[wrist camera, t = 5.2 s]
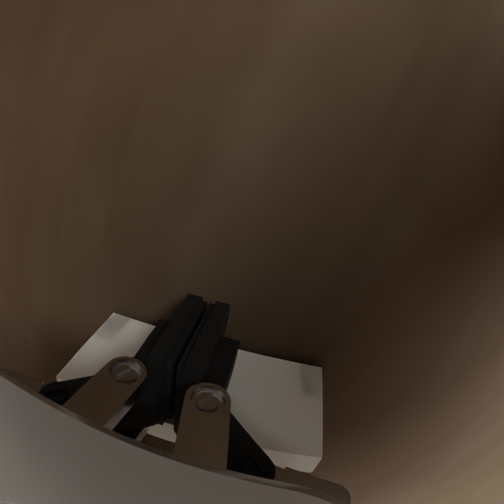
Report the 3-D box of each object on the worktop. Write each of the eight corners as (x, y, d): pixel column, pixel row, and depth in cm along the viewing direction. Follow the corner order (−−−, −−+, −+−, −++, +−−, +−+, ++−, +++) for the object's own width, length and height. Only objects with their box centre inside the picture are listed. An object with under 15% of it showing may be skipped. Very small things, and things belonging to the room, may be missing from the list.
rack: (322, 367, 14) (322, 457, 9) (237, 528, 24) (228, 565, 19) (113, 312, 15) (56, 376, 10) (144, 502, 25) (129, 537, 20)
